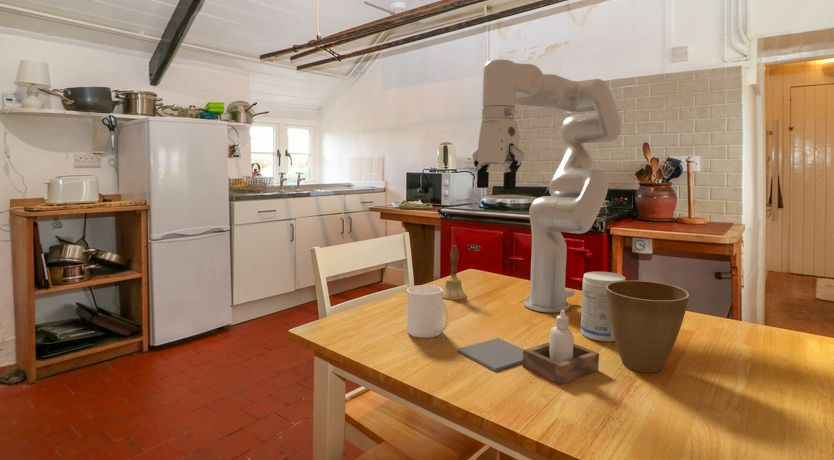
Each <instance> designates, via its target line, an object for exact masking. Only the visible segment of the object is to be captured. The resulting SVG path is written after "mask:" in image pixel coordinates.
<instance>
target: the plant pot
mask: <svg viewBox="0 0 834 460" xmlns="http://www.w3.org/2000/svg"><path fill="white" fill-rule="evenodd" d="M606 291H607V301H608V308H609V315H610V320H611V325H612V330H613V334H614V338H615V341H614V342H615V344H616V347H617V351H618V354H619V357H620V360H621V362H622V365H624V366H625V367H626V368H628V369H631V370H633V371H635V372H641V373H658V372H661V371H662V370H663V368H664V366H665V364H666V362H667V361H668V358H669V357H670V354H671V353H672V350H673V348H674V345H675V343H676V341H677V338H678V336H679V334H680V331H681V327H682V324H683V322H684V317H685V314H686V311H687V306H688V303H689V299H690V294H689V291H687V290H686V289H683V288H681V287H680V286H679V287H678V286H676V285H673V284H669V283H663V282H657V281H650V280H649V281H648V280H626V281H617V282H612V283H610V284H608V285H607V286H606Z"/></svg>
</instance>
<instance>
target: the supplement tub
mask: <svg viewBox="0 0 834 460" xmlns="http://www.w3.org/2000/svg"><path fill="white" fill-rule="evenodd" d="M617 281H627V280H626V277H625V276H624V275H622V274H620V273H616V272H612V271H611V272H610V271H588V272H585V273H584V274H583V279H582V287H581V288H582V290H581V308H580V309H581V314H580V333H581V334H582V335H583V336H584V337H586V338H588V339H591V340H593V341H599V342H607V343H611V342H615V338H614V334H613V330H612V325H611V320H610V315H609V308H608V301H607V291H606V286H607V285H608V284H610V283H612V282H617Z"/></svg>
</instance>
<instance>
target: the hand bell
mask: <svg viewBox="0 0 834 460" xmlns="http://www.w3.org/2000/svg"><path fill="white" fill-rule="evenodd" d="M449 254H450V255H449V257H450V265H451V268H450V269H451V270H450V271H451V272H450V276H449V277H447V278H446V280H445V286H444V288H443V299H444V300H449V301H457V300H458V301H459V300H464V299H466V298H467V293H465V292H464V290H463V286H462V281H461V278H459V277H457V274H458V272H457V270H458V269H457V264H458V262H459V259H460V258H459V257H460V255H459V249H458V246H457V245H456V244H453V245H452V246H451V250H450V253H449Z"/></svg>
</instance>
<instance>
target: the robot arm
mask: <svg viewBox="0 0 834 460" xmlns="http://www.w3.org/2000/svg"><path fill="white" fill-rule="evenodd" d="M482 75H483V76H482V77H483V81H482V109H481V124H480V129H479V135H478V144H477V145H478V146H477V150H476V151H475V152H473V153H472V159H473V165H474V167H475V172H477V175H476V176H477V177H476V188H477V189H478V188H479V189H488V188H489V183H490V182H489V178H490V177H489V175H490V173H489V171H488V169H490V167H491V165H502V166H503V168H504V169H505V171H504V173H503V186H502V187H503V190H506V191H507V190H508V191H511V190H516V182H517V173H518V172H519V169H520V168H521V166H522V162H523V160H524V156H525V152H523V150H521V149H520V145H519V144H520V143H519V142H520V140H519V139H520V138H519V129H518V124H517V121H516V120H515V115H516V107H515V106H516V105H520V106H528V107H538V108H547V109H549V110H551V109H552V110H555V111H558V112H563V113H569V114H571V113H572V114H573V113H574V114H573V115H571V116H568V117H566V118H565V119H564V120H563V122H562V124H561V128H560V131H561V132H560V133H561V141H562V145H563V147H562V148H563V157H562V159H561V162H560V163H559V165H558V167H557V169H556V170H555V171H554V174H553V176H552V178H551V180H550V182H549V184H548V192H549V194H550V195H544V196H539V197H537V198H536V199H534V200H533V201H532V203H531V204H530V207H529V214H528V216H529V222H530V228H531V254H530V255H531V257H530V259H531V260H530V284H529V285H530V286H529V288H530V289H529V297H527V298H525V299H524V300H523V304H524V306H525V307H526V308H527V309H528V310H532V311H535V312H539V313H540V312H542V313H553V314H554V313H556V314H557V313H561V310H565V312H567V311H569V310H570V302H568V301H567V299H568V298H571V297H574V296H575V291H574V290H573V289H569V290H566V274H567V273H566V268H567V242H566V240H565V238H564V236H563V234H562V233H571V234H584V233H587V232H588V231H589V230H590V229H591V228H592V226H593V224H594V222H595V221H596V219H597V217H598V215H599V213H600V210H601V208H602V207H603V204H604V202H605V199H606V197H607V194H608V191H609V178H608V176H607V174H606V173H605V172H604V171H603V170H602V169H599V168H592V166H593V157H592V156H591V154H590V152H589V151H588V150H587V149H586V147H585V144H601V143H605V144H606V143H612V142H614V141H616V140H617V139H618V138H619V137H620V135H621V132H622V120H621V117H620V114H619V110H618V107H617V105H616V103H615V99H614V97H613V94H612V92H611V90H610V88H609V85H607V83H606V82H605V81H604V80H603V79H601V78H593V79H585V80H571V79H568V78H565V77H563V76H560V75H557V74H552V73H551V74H550V73H549V74H548V73H547V74H545V73H544V74H543V71H542V70H541V69H540V68H539V67H538V66H537V65H535V64H532V63H517V62H514V61H512V60H508V59H493V60H490V61H487V62H486V63H485V64H484V66H483V74H482ZM587 112H589V113H587ZM590 112H594V113H590ZM575 113H580V114H575Z"/></svg>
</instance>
